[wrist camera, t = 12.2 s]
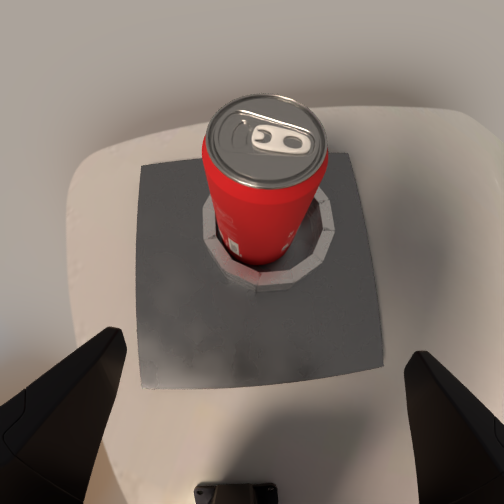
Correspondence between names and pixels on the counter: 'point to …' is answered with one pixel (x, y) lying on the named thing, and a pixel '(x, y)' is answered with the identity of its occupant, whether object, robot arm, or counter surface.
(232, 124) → the beverage can
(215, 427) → the counter surface
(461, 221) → the counter surface
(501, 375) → the counter surface
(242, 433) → the counter surface
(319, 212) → the plate
